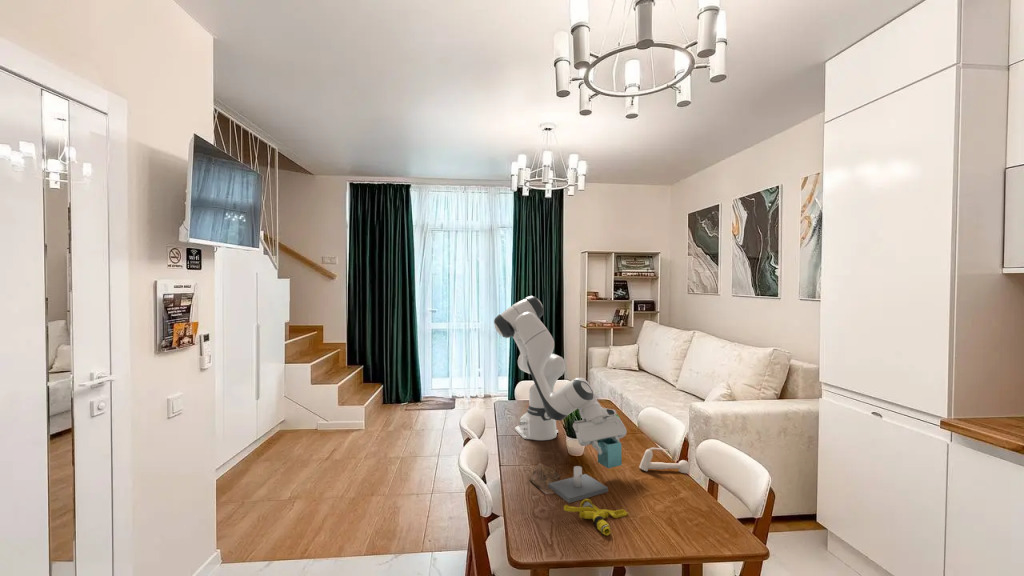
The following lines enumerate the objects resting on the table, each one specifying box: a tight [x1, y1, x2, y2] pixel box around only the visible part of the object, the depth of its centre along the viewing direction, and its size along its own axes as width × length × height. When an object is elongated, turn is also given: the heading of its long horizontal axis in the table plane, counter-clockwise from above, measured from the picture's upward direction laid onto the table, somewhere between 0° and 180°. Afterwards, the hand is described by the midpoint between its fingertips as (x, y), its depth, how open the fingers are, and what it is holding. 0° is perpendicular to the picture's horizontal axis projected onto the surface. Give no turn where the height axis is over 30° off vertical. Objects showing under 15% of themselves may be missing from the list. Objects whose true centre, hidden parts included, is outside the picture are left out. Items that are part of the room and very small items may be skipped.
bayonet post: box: [548, 465, 609, 504], centre depth 144 cm, size 12×16×8 cm
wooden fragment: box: [529, 462, 561, 496], centre depth 153 cm, size 26×11×1 cm, turn 179°
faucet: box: [639, 447, 690, 474], centre depth 160 cm, size 4×18×10 cm, turn 86°
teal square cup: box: [597, 438, 623, 469], centre depth 154 cm, size 6×6×8 cm
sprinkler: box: [563, 498, 628, 536], centre depth 125 cm, size 19×4×15 cm
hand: (610, 452), depth 153 cm, fingers closed on teal square cup, 6 cm apart
